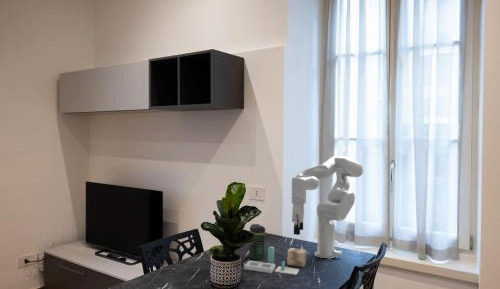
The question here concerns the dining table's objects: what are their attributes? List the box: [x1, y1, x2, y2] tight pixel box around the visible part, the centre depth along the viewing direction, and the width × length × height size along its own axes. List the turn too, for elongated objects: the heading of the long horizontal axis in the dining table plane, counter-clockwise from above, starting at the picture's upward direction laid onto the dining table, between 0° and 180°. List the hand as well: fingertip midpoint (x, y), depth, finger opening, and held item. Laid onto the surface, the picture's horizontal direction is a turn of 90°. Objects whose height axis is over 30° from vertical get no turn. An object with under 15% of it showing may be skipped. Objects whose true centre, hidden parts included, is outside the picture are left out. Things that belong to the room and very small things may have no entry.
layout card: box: [274, 260, 300, 276], centre depth 176 cm, size 11×8×5 cm
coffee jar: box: [248, 223, 266, 261], centre depth 196 cm, size 10×8×19 cm
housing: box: [286, 247, 307, 267], centre depth 187 cm, size 9×6×8 cm
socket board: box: [243, 260, 276, 274], centre depth 178 cm, size 14×8×2 cm, turn 72°
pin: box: [267, 246, 275, 264], centre depth 186 cm, size 3×3×9 cm
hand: (298, 231), depth 187 cm, fingers open, 9 cm apart
